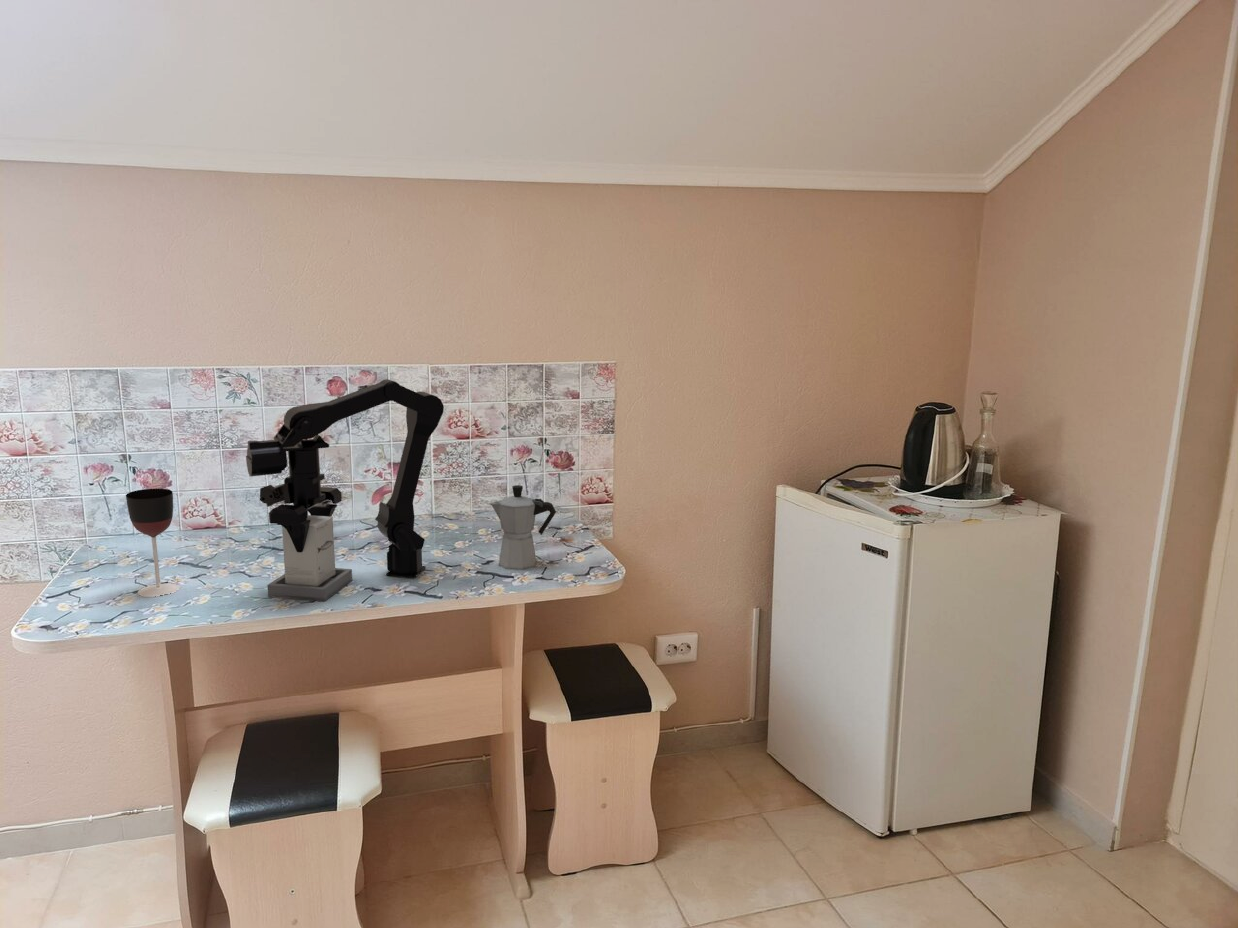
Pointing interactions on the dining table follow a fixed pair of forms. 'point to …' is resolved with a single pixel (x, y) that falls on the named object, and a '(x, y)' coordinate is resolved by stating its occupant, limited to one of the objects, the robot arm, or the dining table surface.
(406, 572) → the robot arm
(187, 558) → the dining table surface
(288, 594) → the tray
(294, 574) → the supplement box
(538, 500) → the coffee maker
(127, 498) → the wineglass
